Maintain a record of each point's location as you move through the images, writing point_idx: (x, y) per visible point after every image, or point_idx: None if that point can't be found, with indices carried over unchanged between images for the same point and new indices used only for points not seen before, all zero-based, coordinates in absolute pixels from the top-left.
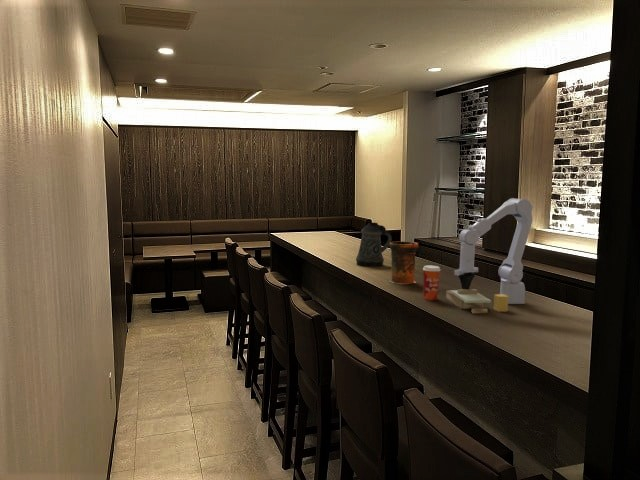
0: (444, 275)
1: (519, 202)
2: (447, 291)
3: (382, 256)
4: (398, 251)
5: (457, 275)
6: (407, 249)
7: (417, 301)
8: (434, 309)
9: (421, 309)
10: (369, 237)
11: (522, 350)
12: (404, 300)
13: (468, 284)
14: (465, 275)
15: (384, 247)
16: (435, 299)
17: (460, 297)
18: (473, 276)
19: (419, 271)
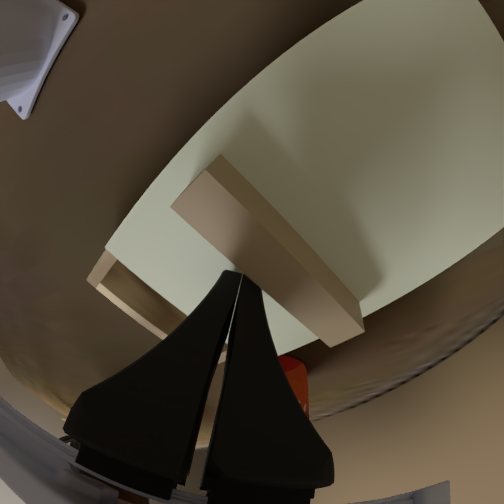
0: (15, 349)
1: None
2: (218, 362)
3: None
4: (144, 497)
5: (442, 483)
6: (125, 498)
7: (360, 380)
8: (479, 299)
9: (483, 329)
10: None
11: None
12: (364, 399)
13: (243, 331)
14: (300, 489)
15: (68, 440)
16: (284, 355)
17: (453, 256)
18: (125, 415)
19: (44, 383)
